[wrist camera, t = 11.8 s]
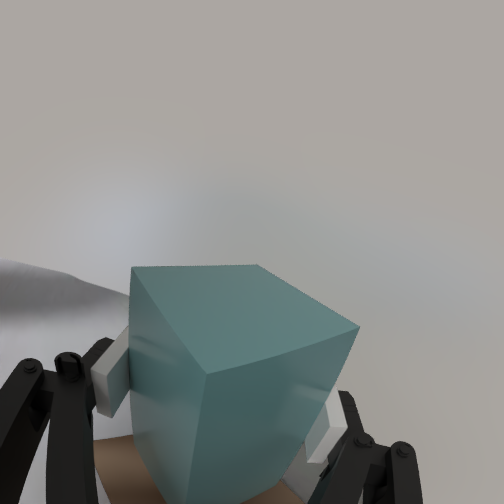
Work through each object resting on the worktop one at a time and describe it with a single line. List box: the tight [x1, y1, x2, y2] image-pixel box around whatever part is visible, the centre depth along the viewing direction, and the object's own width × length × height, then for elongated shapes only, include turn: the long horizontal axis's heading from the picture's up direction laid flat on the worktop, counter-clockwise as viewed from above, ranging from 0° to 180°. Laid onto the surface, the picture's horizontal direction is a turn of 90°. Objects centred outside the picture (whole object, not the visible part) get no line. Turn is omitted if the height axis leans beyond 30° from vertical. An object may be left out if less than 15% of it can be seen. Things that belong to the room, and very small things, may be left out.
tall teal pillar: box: [128, 265, 360, 504], centre depth 12 cm, size 6×6×12 cm
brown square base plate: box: [93, 435, 305, 504], centre depth 13 cm, size 12×12×9 cm
